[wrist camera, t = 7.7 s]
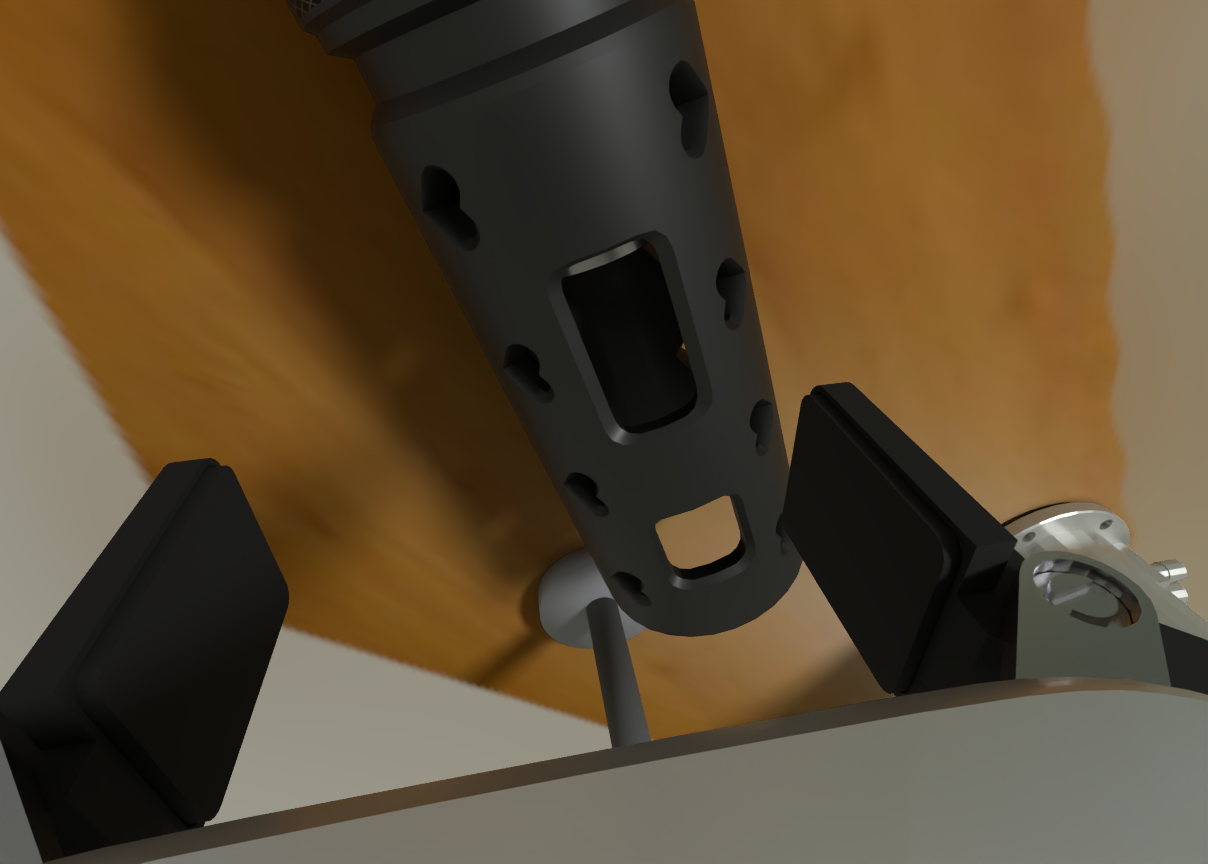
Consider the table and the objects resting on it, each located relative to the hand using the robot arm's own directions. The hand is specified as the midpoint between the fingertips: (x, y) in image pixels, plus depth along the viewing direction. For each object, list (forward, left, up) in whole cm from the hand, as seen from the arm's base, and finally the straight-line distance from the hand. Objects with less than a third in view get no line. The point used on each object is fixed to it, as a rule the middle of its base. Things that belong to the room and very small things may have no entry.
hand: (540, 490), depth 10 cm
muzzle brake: (-3, 0, -16) cm, 17 cm away
